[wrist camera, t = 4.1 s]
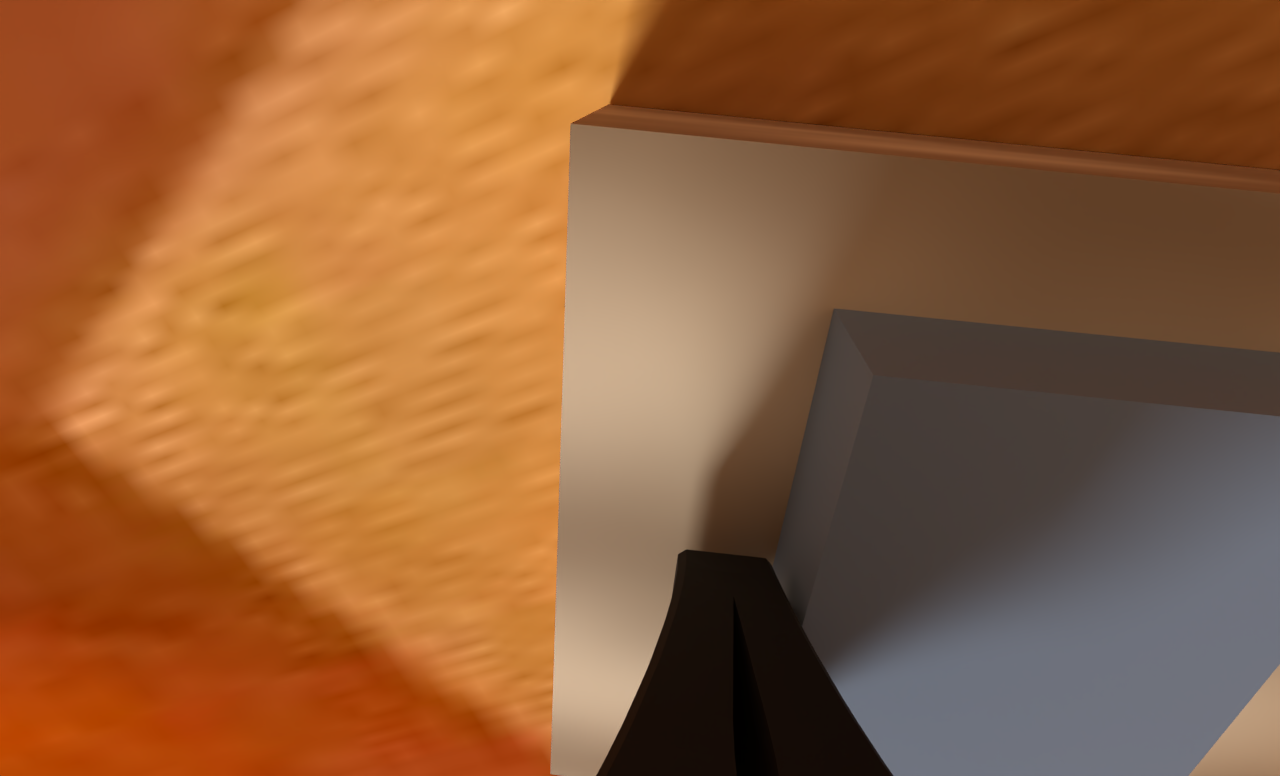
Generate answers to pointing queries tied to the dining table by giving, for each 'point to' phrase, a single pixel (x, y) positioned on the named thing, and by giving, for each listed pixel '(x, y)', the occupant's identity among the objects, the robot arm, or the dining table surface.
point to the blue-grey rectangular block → (1037, 543)
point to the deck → (798, 327)
